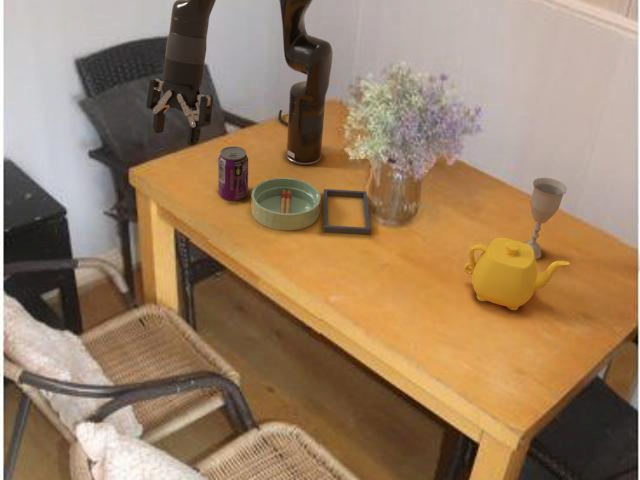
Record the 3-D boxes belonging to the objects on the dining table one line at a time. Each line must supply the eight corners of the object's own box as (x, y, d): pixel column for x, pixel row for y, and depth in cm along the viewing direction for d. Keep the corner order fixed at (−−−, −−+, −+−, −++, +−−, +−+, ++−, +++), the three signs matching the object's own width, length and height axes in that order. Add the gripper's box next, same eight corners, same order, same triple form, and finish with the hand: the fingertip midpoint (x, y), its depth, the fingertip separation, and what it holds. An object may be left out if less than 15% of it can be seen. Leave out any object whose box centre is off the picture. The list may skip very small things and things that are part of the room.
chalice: (547, 248, 171) (568, 182, 160) (544, 264, 166) (566, 197, 155) (516, 240, 172) (534, 174, 162) (512, 256, 167) (531, 189, 157)
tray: (323, 195, 182) (323, 188, 181) (365, 198, 183) (366, 191, 182) (323, 234, 169) (324, 227, 168) (369, 236, 169) (370, 229, 168)
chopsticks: (281, 197, 179) (281, 188, 178) (291, 197, 179) (291, 189, 178) (279, 225, 170) (279, 216, 168) (289, 225, 170) (290, 216, 168)
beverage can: (246, 204, 177) (246, 161, 170) (216, 202, 177) (216, 158, 170) (249, 188, 183) (249, 146, 176) (220, 186, 182) (220, 144, 175)
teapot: (467, 264, 163) (478, 217, 156) (557, 289, 158) (573, 242, 151) (453, 300, 153) (464, 251, 145) (550, 329, 148) (567, 280, 140)
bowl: (253, 193, 181) (254, 175, 178) (318, 196, 182) (320, 179, 179) (248, 230, 168) (249, 212, 165) (319, 234, 169) (320, 216, 166)
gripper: (226, 65, 141) (214, 146, 147) (168, 47, 146) (159, 126, 152) (203, 67, 135) (191, 151, 141) (143, 49, 140) (134, 130, 146)
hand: (175, 138), depth 146 cm, fingers open, 8 cm apart
